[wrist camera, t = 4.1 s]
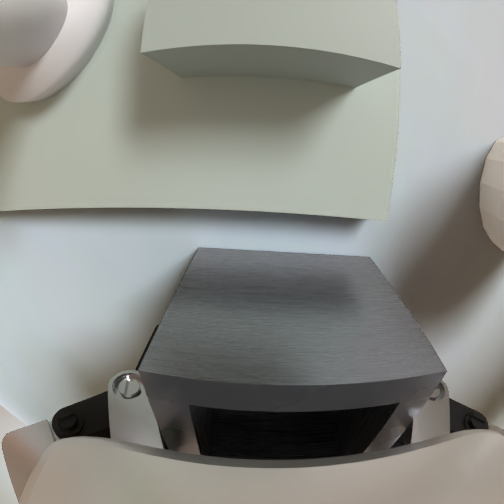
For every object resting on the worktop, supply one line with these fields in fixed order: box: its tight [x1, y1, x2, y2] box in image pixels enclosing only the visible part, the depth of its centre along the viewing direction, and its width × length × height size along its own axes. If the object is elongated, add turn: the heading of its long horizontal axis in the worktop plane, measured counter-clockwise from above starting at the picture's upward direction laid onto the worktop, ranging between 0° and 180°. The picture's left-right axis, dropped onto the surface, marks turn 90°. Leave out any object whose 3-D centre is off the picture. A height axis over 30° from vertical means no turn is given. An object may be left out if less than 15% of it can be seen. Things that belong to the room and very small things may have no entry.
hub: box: [138, 248, 447, 460], centre depth 9 cm, size 6×6×6 cm
